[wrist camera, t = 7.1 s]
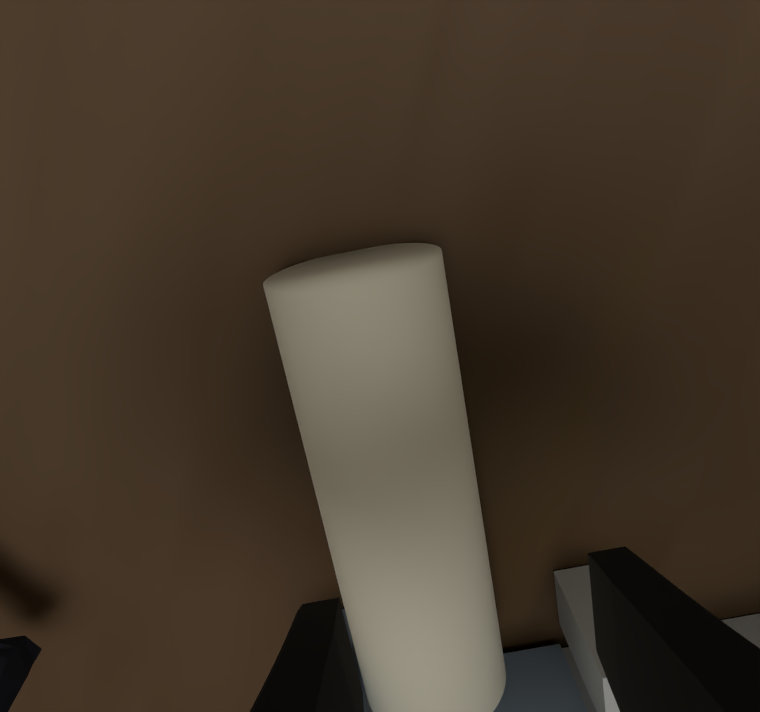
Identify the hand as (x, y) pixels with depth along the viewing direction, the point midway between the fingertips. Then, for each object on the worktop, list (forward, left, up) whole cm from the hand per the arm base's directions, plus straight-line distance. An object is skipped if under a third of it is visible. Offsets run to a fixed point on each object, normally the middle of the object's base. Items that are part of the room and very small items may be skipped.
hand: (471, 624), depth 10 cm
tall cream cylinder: (0, +1, -7) cm, 7 cm away
